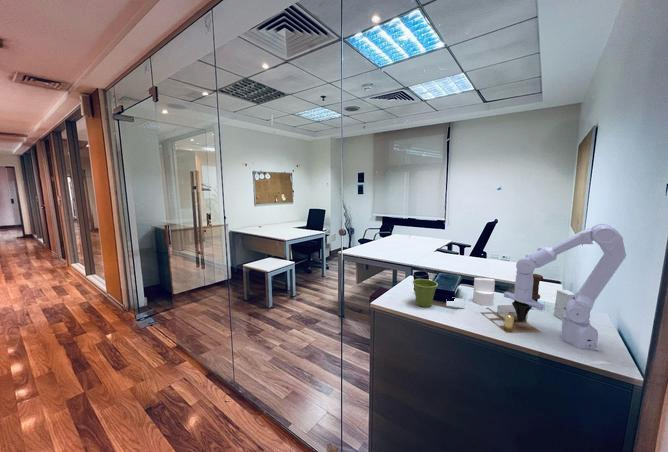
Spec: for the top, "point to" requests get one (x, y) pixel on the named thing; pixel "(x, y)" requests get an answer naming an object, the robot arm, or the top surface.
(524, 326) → the board
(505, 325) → the pin
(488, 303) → the base with upright slab
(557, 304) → the skincare box
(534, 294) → the bolt
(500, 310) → the housing
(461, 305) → the hard drive
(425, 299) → the plant pot
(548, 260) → the robot arm
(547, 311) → the top surface
